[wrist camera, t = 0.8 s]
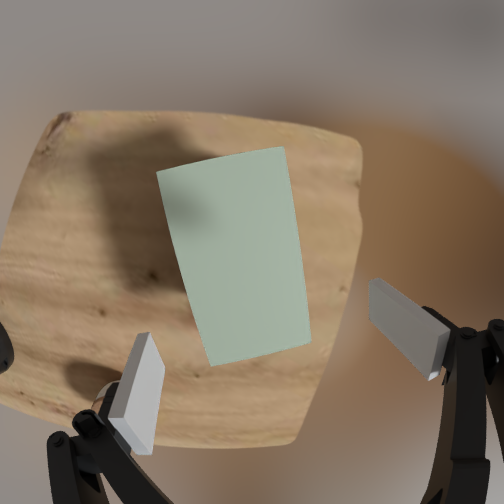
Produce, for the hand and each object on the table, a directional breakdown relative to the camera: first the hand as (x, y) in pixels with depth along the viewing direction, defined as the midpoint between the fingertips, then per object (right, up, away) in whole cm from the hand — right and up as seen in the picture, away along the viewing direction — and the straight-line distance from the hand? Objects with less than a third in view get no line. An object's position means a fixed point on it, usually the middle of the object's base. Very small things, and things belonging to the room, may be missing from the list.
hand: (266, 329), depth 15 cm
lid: (-2, +3, +12) cm, 13 cm away
